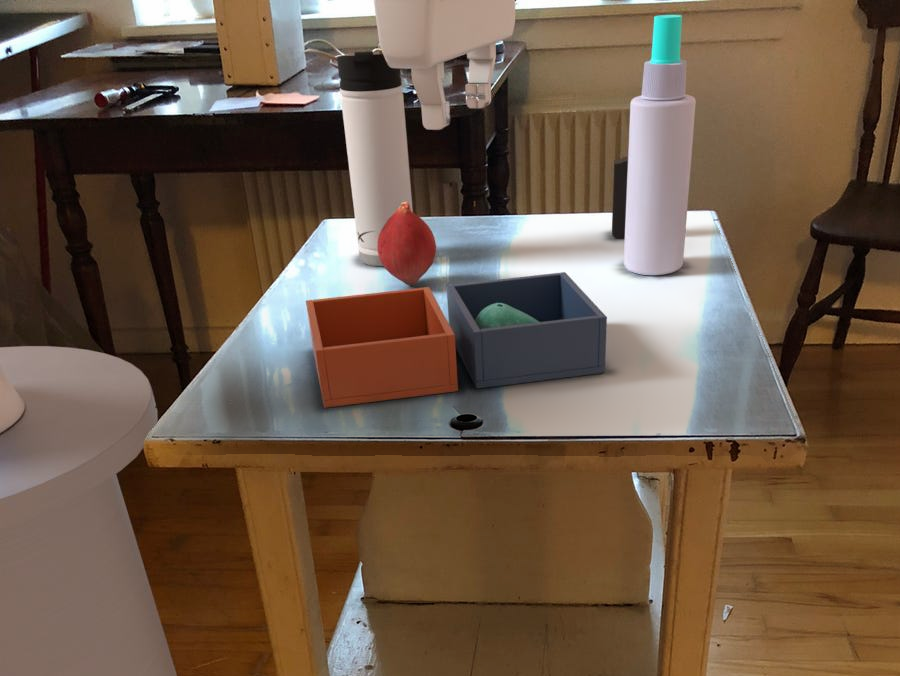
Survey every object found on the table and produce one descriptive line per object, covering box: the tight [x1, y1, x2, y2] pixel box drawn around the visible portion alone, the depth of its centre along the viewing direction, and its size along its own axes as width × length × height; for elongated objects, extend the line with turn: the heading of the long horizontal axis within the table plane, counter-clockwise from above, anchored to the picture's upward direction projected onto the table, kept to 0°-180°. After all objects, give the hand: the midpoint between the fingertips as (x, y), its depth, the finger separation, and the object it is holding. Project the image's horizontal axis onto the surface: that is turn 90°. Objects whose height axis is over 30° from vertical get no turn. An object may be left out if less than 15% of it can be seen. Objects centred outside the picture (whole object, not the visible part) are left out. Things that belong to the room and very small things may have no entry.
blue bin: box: [446, 271, 608, 389], centre depth 82 cm, size 11×12×5 cm
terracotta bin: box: [305, 286, 459, 409], centre depth 80 cm, size 11×12×5 cm
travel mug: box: [336, 50, 414, 267], centre depth 101 cm, size 6×7×20 cm
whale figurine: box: [475, 303, 539, 329], centre depth 81 cm, size 6×7×4 cm
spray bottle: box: [623, 14, 697, 276], centre depth 94 cm, size 6×6×22 cm
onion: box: [377, 202, 437, 286], centre depth 97 cm, size 6×6×8 cm
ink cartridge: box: [611, 156, 628, 240], centre depth 108 cm, size 5×2×8 cm, turn 84°
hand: (458, 117), depth 80 cm, fingers open, 8 cm apart
